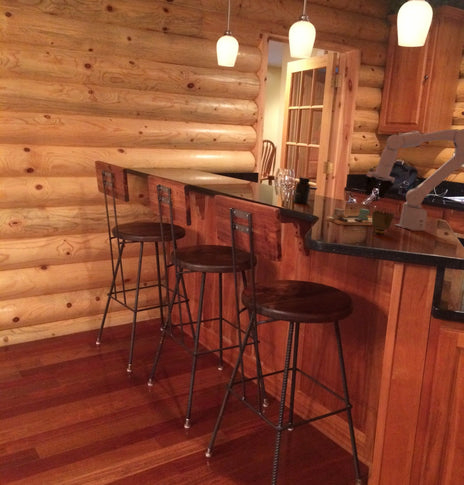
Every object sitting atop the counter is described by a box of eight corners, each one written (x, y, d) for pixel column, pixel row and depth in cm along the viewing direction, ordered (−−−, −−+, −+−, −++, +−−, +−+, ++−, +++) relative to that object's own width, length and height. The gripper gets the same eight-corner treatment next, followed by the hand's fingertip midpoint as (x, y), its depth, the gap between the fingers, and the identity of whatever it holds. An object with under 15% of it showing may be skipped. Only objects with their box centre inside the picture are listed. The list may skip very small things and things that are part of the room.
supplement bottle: (292, 202, 243) (296, 177, 240) (294, 200, 249) (298, 176, 246) (306, 204, 241) (310, 179, 238) (308, 203, 247) (312, 178, 245)
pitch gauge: (385, 225, 210) (387, 212, 209) (342, 225, 197) (344, 211, 196) (367, 219, 218) (369, 207, 217) (324, 219, 205) (326, 206, 204)
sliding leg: (373, 221, 206) (375, 211, 205) (369, 221, 205) (371, 211, 204) (362, 218, 211) (364, 208, 210) (358, 218, 210) (360, 208, 209)
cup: (374, 230, 194) (378, 209, 192) (392, 235, 189) (397, 213, 187) (365, 232, 188) (369, 210, 186) (384, 237, 183) (388, 214, 182)
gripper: (390, 164, 216) (378, 195, 219) (366, 158, 208) (355, 190, 211) (402, 169, 210) (390, 200, 214) (379, 163, 202) (367, 195, 206)
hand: (373, 196), depth 212 cm, fingers open, 7 cm apart
